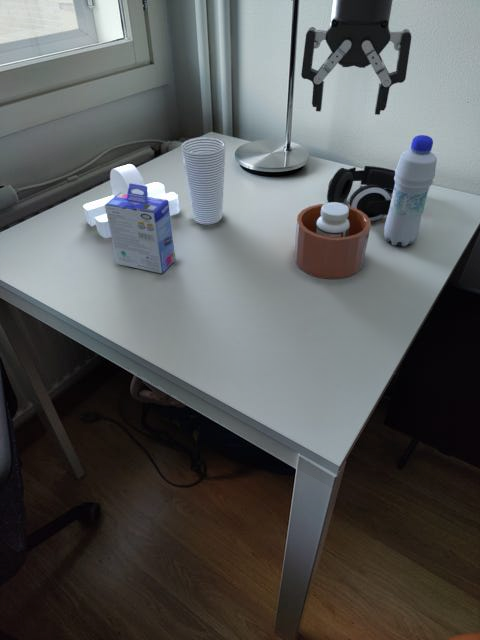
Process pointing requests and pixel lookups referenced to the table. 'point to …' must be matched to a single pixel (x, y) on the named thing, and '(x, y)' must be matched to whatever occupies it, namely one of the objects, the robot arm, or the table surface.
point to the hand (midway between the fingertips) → (347, 111)
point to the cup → (205, 177)
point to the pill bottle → (333, 220)
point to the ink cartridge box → (141, 230)
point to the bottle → (410, 191)
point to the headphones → (364, 190)
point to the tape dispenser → (120, 184)
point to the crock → (330, 245)
